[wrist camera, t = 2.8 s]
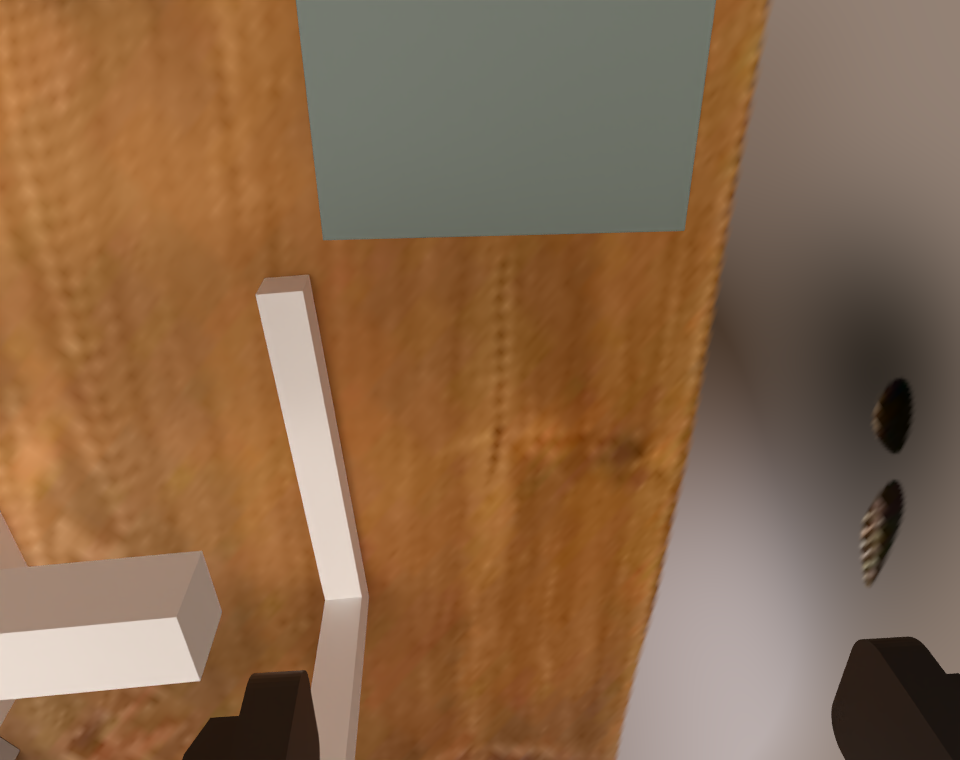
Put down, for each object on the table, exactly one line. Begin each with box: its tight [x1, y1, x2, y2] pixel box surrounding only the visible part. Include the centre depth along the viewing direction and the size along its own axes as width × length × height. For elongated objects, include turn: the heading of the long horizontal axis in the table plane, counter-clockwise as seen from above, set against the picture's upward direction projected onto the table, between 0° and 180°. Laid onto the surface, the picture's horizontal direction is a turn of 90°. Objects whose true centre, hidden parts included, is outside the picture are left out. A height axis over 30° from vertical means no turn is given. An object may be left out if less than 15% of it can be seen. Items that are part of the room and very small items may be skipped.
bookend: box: [0, 275, 369, 760], centre depth 28 cm, size 20×20×20 cm
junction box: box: [296, 0, 716, 240], centre depth 23 cm, size 8×10×13 cm
